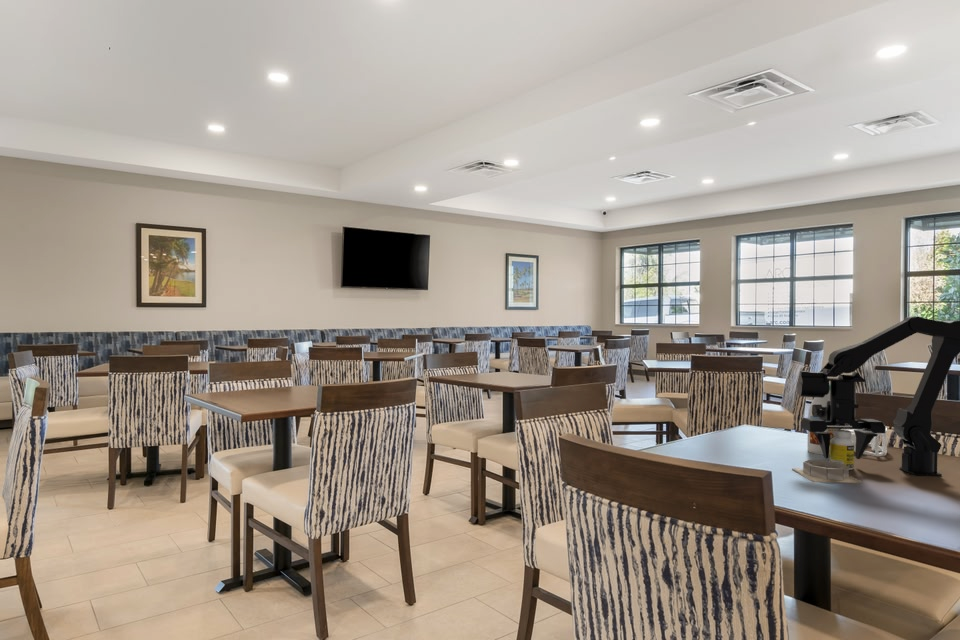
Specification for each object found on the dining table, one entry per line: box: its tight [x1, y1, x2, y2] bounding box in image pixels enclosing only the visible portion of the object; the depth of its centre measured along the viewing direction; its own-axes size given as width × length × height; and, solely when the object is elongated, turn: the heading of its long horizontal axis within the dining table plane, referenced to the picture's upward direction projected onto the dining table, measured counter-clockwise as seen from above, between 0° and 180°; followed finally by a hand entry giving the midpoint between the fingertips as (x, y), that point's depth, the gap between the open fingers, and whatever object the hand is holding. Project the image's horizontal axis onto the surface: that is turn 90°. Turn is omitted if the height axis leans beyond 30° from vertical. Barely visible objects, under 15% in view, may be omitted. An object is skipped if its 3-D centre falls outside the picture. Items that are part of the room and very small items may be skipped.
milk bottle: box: [807, 383, 839, 456], centre depth 175 cm, size 8×8×20 cm
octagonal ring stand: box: [791, 459, 863, 484], centre depth 147 cm, size 11×11×3 cm
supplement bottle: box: [829, 429, 855, 470], centre depth 157 cm, size 5×5×10 cm
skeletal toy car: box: [844, 425, 888, 457], centre depth 180 cm, size 20×11×7 cm, turn 146°
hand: (841, 458), depth 157 cm, fingers open, 8 cm apart
